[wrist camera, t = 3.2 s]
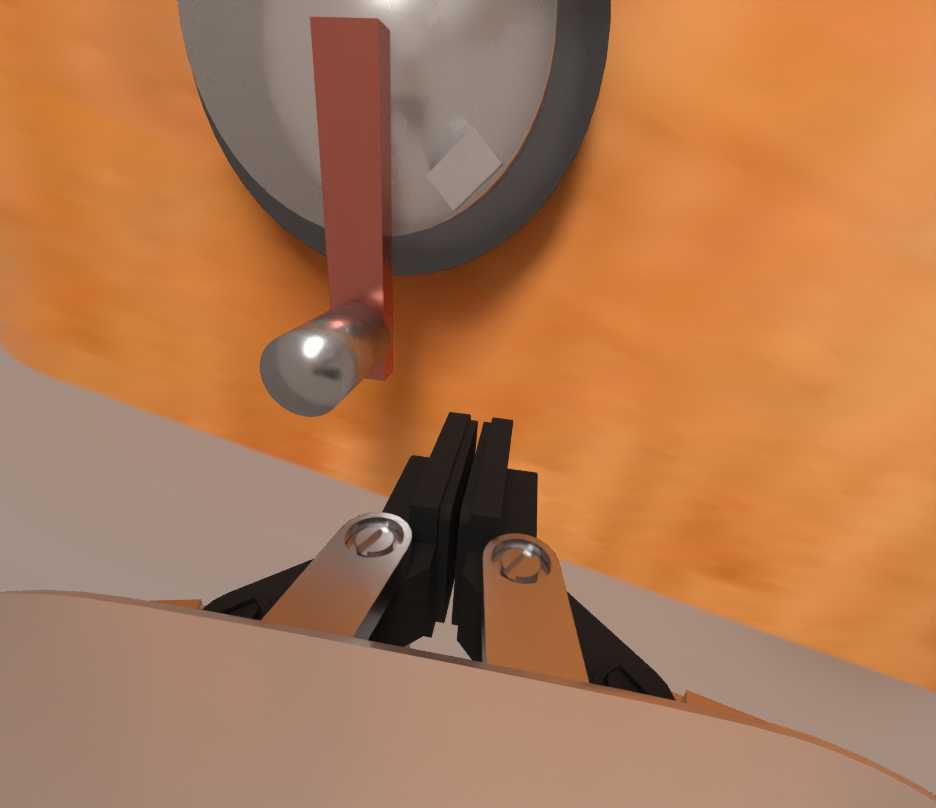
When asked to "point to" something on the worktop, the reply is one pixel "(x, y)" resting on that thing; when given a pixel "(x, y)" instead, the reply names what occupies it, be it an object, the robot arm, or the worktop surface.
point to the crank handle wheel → (367, 141)
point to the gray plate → (529, 178)
